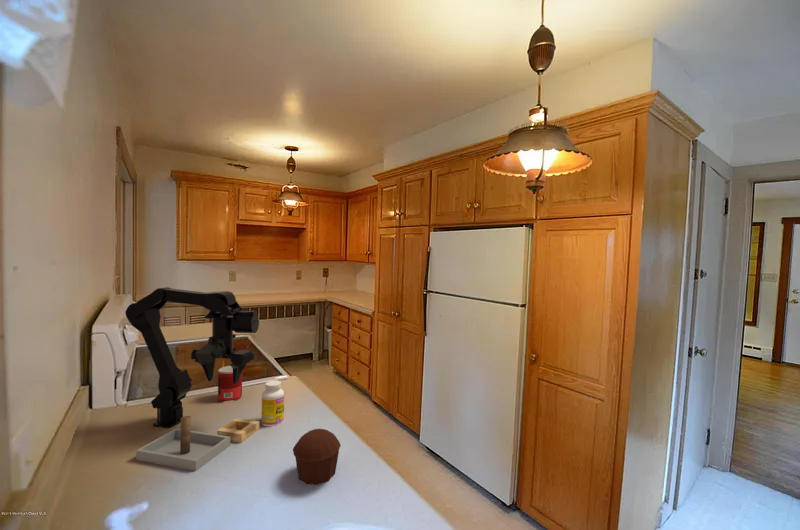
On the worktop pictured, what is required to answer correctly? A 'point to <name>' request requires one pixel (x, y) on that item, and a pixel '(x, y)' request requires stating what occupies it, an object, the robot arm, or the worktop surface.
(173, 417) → the robot arm
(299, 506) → the worktop surface
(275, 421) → the supplement bottle
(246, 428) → the holder
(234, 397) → the canned food
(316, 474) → the muffin
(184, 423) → the pin
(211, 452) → the tray
